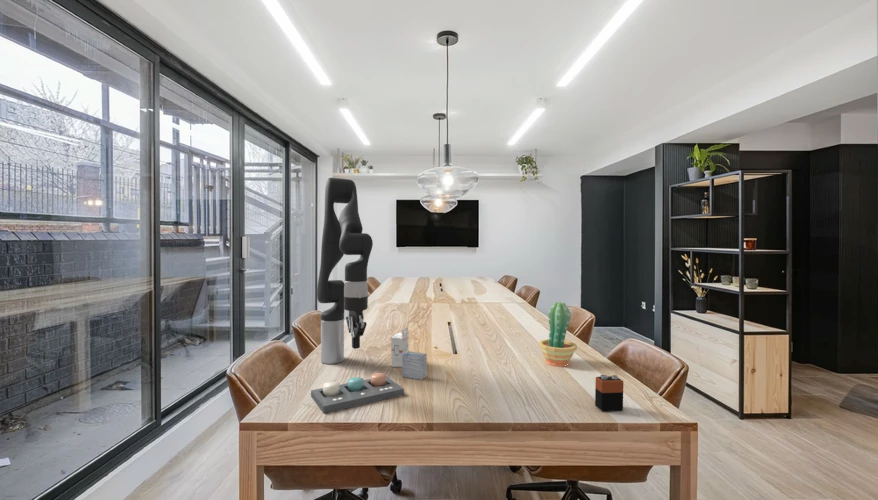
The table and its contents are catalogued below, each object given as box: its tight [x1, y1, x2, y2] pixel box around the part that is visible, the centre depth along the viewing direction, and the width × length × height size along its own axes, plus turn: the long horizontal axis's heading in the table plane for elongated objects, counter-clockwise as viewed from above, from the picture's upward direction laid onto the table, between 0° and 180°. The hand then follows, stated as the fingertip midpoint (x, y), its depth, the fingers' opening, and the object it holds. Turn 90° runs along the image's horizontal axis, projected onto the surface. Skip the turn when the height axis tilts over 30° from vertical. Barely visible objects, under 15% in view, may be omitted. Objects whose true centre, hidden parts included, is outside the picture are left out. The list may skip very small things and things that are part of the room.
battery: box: [594, 374, 624, 412], centre depth 118 cm, size 4×7×10 cm, turn 96°
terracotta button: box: [370, 372, 387, 387], centre depth 132 cm, size 5×5×3 cm
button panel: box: [310, 375, 405, 414], centre depth 126 cm, size 14×26×2 cm, turn 122°
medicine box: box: [402, 350, 428, 381], centre depth 144 cm, size 8×4×9 cm, turn 65°
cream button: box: [322, 381, 341, 398], centre depth 123 cm, size 5×5×3 cm
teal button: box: [347, 376, 365, 392], centre depth 127 cm, size 5×5×3 cm
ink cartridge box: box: [390, 326, 410, 368], centre depth 158 cm, size 9×5×15 cm, turn 168°
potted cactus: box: [538, 301, 578, 367], centre depth 161 cm, size 15×15×25 cm
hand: (355, 347), depth 127 cm, fingers closed
